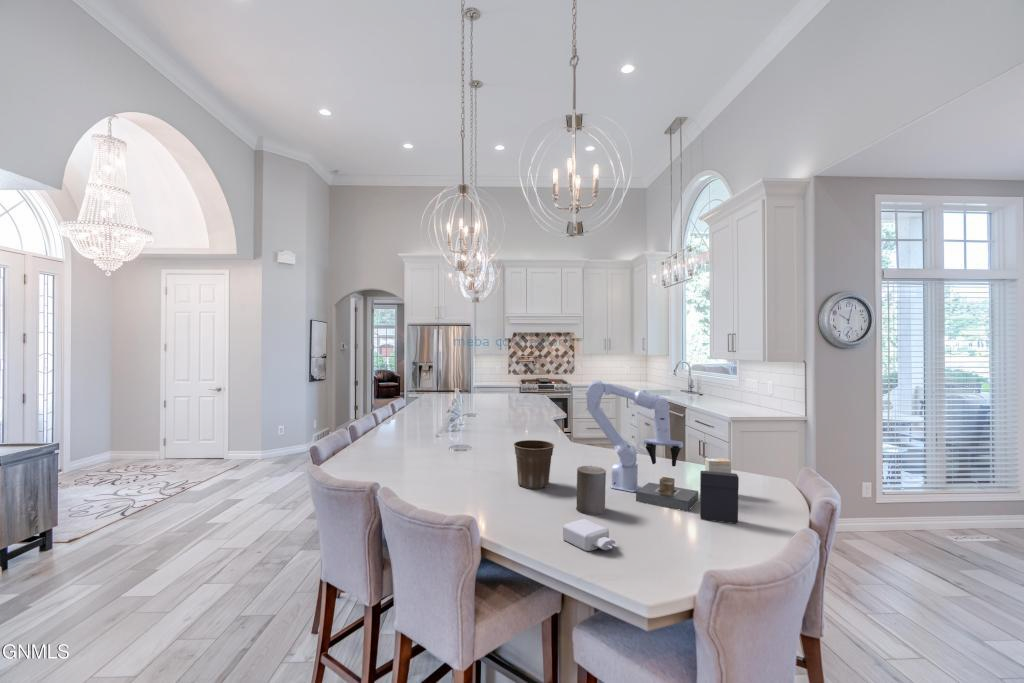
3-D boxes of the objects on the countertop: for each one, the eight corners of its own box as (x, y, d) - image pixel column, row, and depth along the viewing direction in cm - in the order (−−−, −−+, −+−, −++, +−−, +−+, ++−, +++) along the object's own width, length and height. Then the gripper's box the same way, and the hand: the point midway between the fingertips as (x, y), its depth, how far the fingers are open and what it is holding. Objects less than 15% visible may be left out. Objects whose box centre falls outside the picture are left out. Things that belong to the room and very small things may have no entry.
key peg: (659, 501, 170) (659, 479, 170) (662, 498, 173) (663, 476, 173) (670, 504, 167) (671, 481, 167) (674, 501, 171) (674, 478, 171)
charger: (602, 561, 122) (562, 541, 135) (626, 552, 128) (586, 534, 140) (602, 542, 123) (563, 524, 135) (626, 534, 128) (586, 517, 140)
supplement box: (727, 492, 181) (727, 458, 182) (731, 496, 177) (731, 461, 177) (704, 491, 182) (704, 457, 182) (708, 495, 178) (708, 460, 178)
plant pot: (555, 491, 180) (555, 448, 180) (512, 490, 180) (513, 448, 181) (552, 479, 197) (552, 440, 197) (513, 478, 197) (513, 439, 197)
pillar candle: (570, 509, 160) (571, 465, 160) (586, 502, 167) (587, 460, 167) (595, 517, 153) (595, 471, 153) (611, 510, 161) (611, 465, 160)
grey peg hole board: (635, 501, 170) (636, 491, 170) (648, 491, 181) (649, 482, 181) (687, 511, 160) (688, 500, 160) (698, 500, 171) (698, 490, 171)
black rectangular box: (736, 519, 152) (737, 473, 153) (738, 524, 148) (738, 476, 149) (699, 515, 156) (700, 469, 156) (700, 520, 152) (700, 472, 152)
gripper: (640, 429, 183) (641, 464, 183) (678, 432, 175) (679, 469, 174) (646, 426, 189) (648, 461, 189) (684, 429, 180) (685, 465, 180)
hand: (663, 464), depth 182 cm, fingers open, 7 cm apart
